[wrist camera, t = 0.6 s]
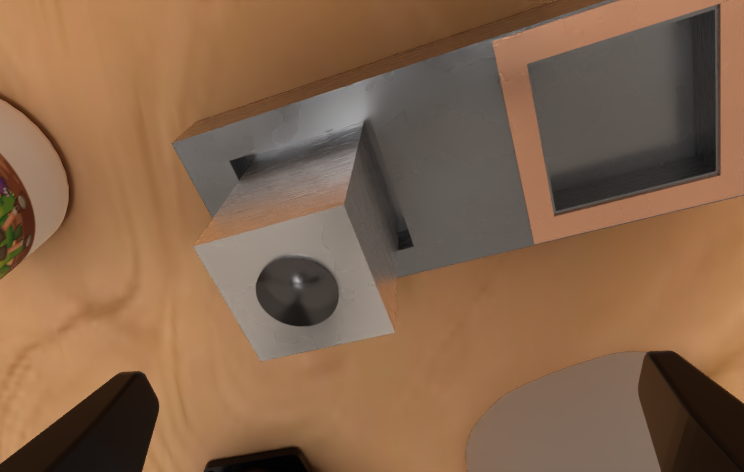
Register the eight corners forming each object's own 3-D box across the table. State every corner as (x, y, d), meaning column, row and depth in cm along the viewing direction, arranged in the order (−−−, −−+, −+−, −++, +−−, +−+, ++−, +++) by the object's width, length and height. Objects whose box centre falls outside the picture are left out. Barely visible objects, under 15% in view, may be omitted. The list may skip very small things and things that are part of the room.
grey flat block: (275, 276, 24) (262, 311, 22) (196, 122, 21) (170, 144, 18) (731, 162, 20) (771, 190, 18) (733, -59, 16) (784, -58, 14)
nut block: (300, 246, 22) (259, 364, 16) (257, 154, 20) (191, 249, 14) (398, 220, 21) (395, 336, 15) (364, 121, 19) (342, 207, 13)
